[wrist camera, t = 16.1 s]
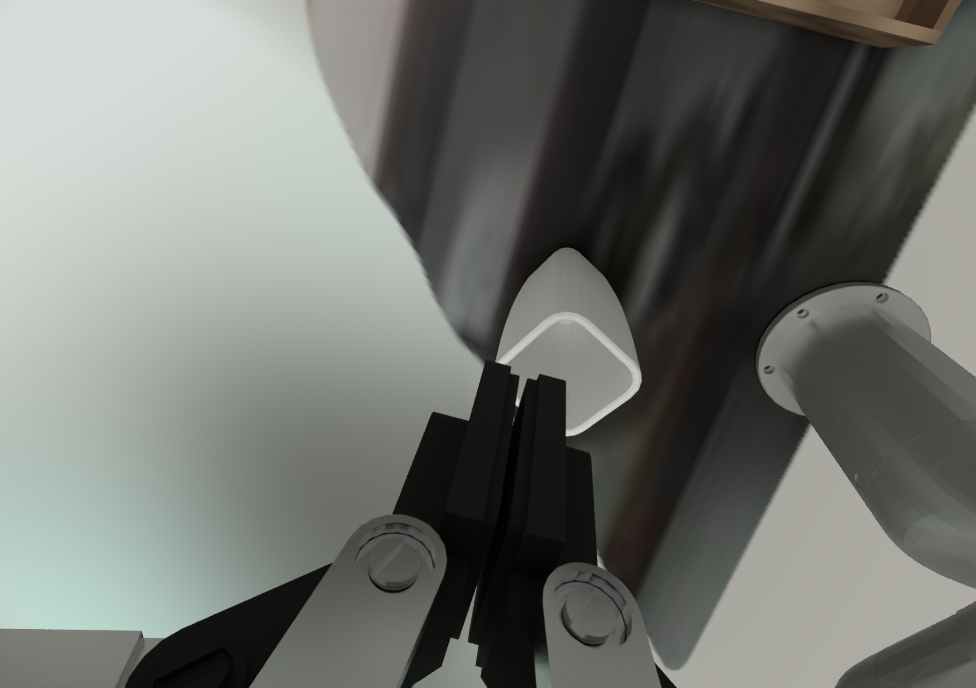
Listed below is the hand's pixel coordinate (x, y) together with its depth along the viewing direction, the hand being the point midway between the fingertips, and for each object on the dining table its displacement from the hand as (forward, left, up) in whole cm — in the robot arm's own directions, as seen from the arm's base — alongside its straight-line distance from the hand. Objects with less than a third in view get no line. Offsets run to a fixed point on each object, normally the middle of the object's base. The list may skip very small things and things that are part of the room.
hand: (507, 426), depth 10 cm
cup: (-8, +6, -32) cm, 34 cm away
